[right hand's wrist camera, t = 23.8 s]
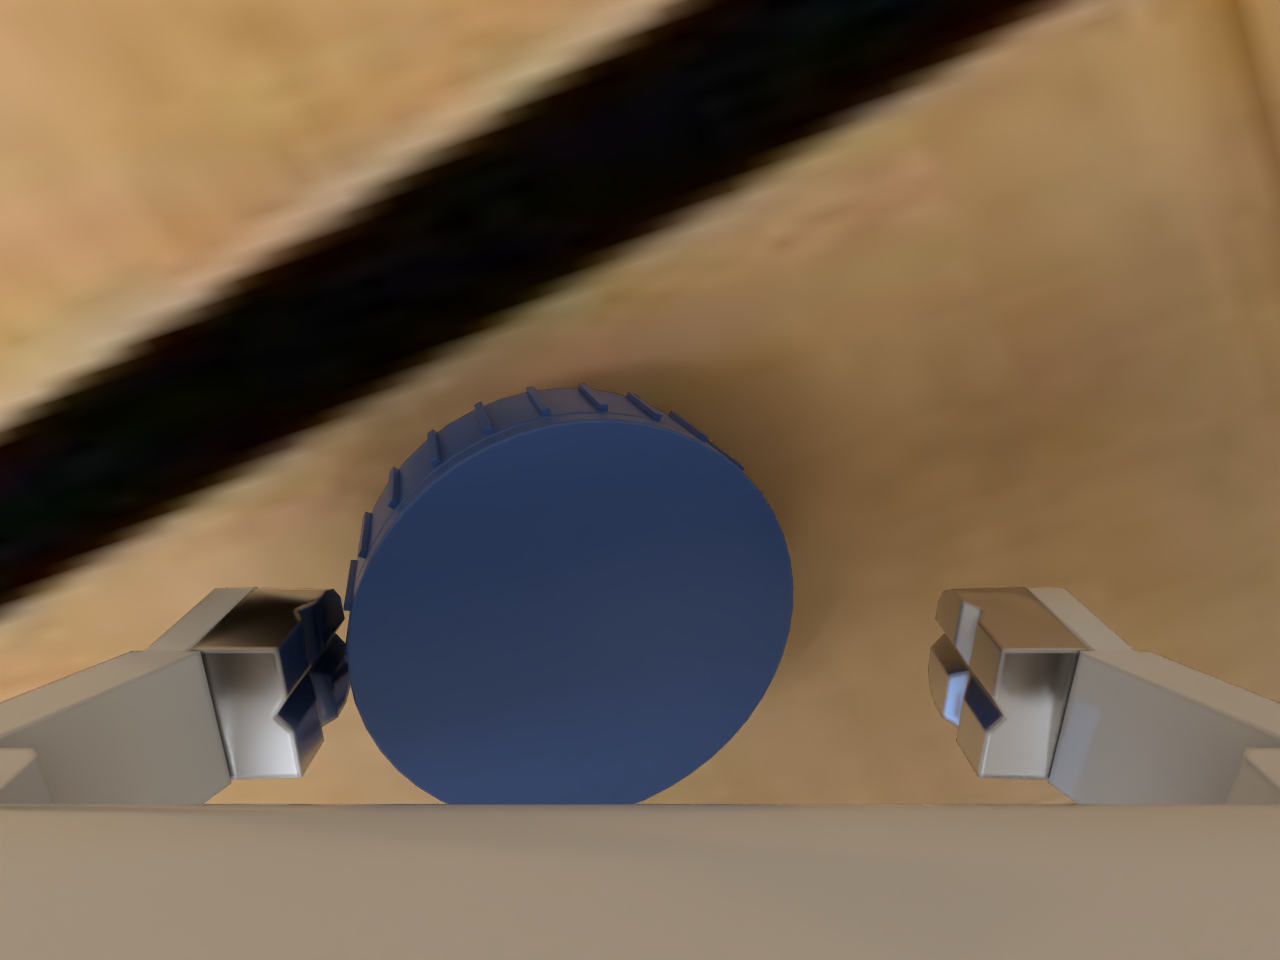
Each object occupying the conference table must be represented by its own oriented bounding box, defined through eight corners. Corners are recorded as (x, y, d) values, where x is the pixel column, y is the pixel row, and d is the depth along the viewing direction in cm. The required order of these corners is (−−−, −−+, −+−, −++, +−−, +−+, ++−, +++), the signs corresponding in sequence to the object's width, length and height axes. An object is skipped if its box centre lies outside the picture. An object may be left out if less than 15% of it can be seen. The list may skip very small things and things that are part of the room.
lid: (319, 397, 10) (302, 436, 8) (754, 370, 11) (815, 397, 10) (377, 778, 12) (372, 873, 10) (737, 707, 13) (784, 777, 12)
